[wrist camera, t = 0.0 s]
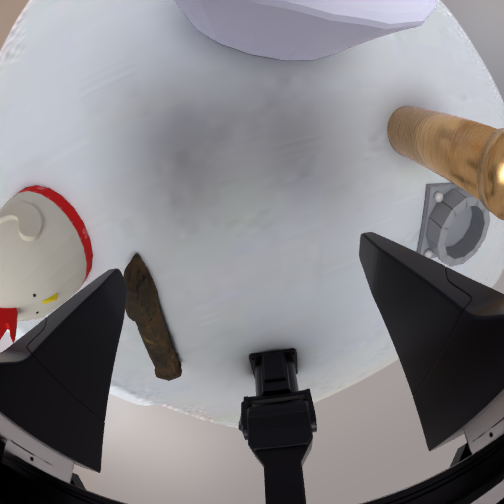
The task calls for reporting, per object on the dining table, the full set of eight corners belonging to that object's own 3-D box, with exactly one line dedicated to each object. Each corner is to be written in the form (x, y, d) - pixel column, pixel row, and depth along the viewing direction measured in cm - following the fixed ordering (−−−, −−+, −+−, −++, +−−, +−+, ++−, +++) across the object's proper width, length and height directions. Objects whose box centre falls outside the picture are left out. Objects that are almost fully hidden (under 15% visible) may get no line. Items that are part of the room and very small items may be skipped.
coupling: (429, 158, 21) (524, 217, 10) (386, 159, 22) (482, 223, 11) (429, 106, 18) (536, 139, 7) (384, 102, 19) (495, 128, 8)
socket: (465, 246, 27) (479, 260, 24) (415, 256, 28) (429, 273, 25) (479, 182, 22) (496, 193, 19) (426, 184, 23) (444, 196, 20)
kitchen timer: (89, 301, 30) (43, 397, 17) (14, 262, 26) (-42, 337, 14) (99, 208, 23) (10, 314, 11) (11, 171, 20) (-81, 238, 7)
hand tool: (184, 360, 37) (180, 386, 33) (158, 358, 36) (152, 384, 32) (162, 251, 27) (150, 279, 23) (127, 250, 26) (111, 277, 22)
